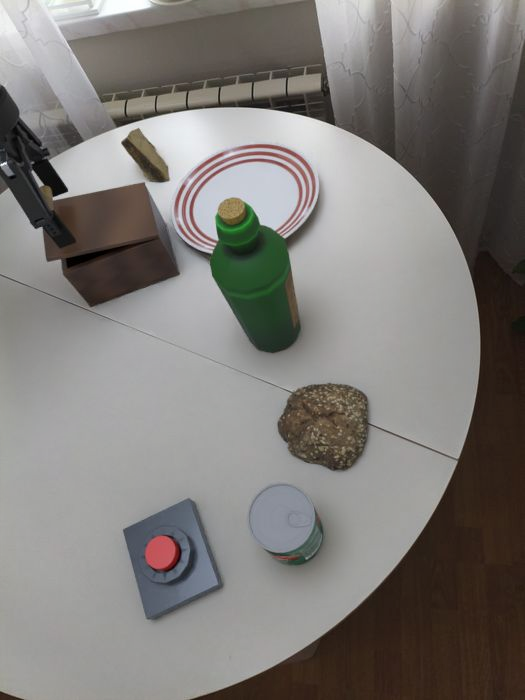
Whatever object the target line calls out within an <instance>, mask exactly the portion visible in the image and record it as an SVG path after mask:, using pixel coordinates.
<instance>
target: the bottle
mask: <svg viewBox="0 0 525 700" xmlns="http://www.w3.org/2000/svg"><path fill="white" fill-rule="evenodd" d="M215 222H216V230H217V235H218V239H219V240H218V242H217V244H216V246H215V248H214V250H213V253H212V254H210V257H209V261H208V262H209V266H210V267H209V268H210V272H211V276H212V278H213V280H214V282H215V284H216V285H217V287H218V289H219V291H220V293H221V294H222V296H223V297H224V300H225V301H226V302H227V305H228V306H229V308H230V309H231V312H232V313H233V315H234V317H235V318H236V320H237V322H238V324H239V325H240V327H241V329H242V330H243V333H244V334H245V336H246V337H247V339H248V341H249V342H250V343H251V344H252V345H253V346H254V347H255V348H256V349H258V350H259V351H263V352H268V353H275V352H279V351H282V350H286V349H287V348H288V347H290V346H291V345H292V344H293V343H294V342H295V341H296V340H297V339H298V336H299V333H300V330H301V320H300V315H299V314H300V313H299V308H298V302H297V295H296V290H295V289H296V288H295V283H294V277H293V271H292V264H291V258H290V253H289V249H288V246H287V242H286V238H283V237H282V236H281V235H279V234H278V233H277V232H276V231H274V230H273V229H272V228H270V227H267V226H265V225H260V222H259V218H258V216H257V215H256V213H255V212H254V210H253V209H252V207H251V206H250V205H248V204H247V203H246V202H244V201H242V200H241V199H240V198H234V197H232V198H229V199H225V200H224V201H223V202H222V203H220V205H219V207H218V212H217V214H216V216H215Z"/></svg>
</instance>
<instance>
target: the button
mask: <svg viewBox="0 0 525 700" xmlns="http://www.w3.org/2000/svg"><path fill="white" fill-rule="evenodd" d="M179 556H180V549H179V546H178V544H177V543H176V541H174V540H173V539H171V538H169V537H167V536H157V537H155V538H153V539H152V540H151V541H150V542H149V544H148V545H147V548H146V551H145V557H146V561H147V563H148V564H149V565H150V566H151V567H152V568H155V569H158V570H161V571H166V570H169V569H171V568H172V567H173V566H175V564H176V563H177V561H178V559H179Z"/></svg>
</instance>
